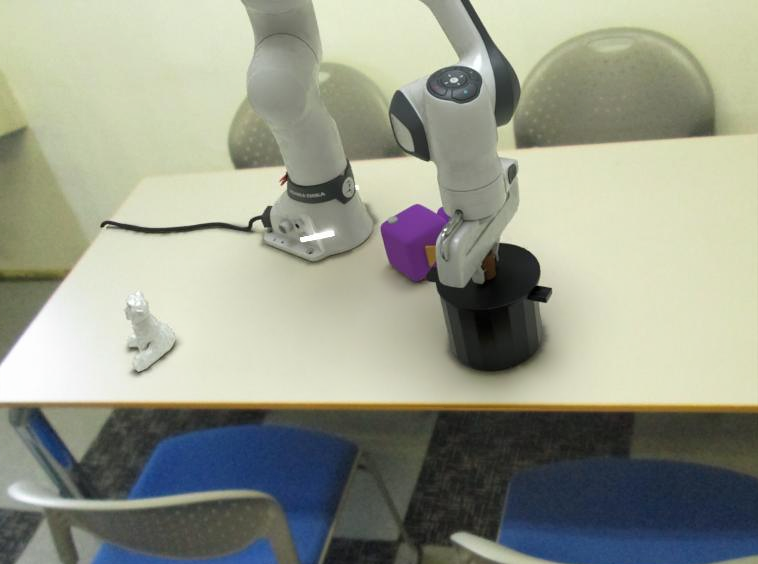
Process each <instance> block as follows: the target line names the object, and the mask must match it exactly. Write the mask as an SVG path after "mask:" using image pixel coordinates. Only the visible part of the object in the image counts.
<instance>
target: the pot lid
mask: <svg viewBox="0 0 758 564" xmlns="http://www.w3.org/2000/svg"><path fill="white" fill-rule="evenodd" d="M498 259H499V260H498V262H497V263H496V265H495V263H494V256H493V251H492V249H491V250H490V251H489V252H488V254H487V255H486V257H485V258H484V260H483V261H482V265H481V266H480V267H481V268H484V269H486V271H487V278H486V279H485V281H484V283H483V284H479V283H475V282H473V280H472V277H471V279H470V280H469V281H468V283H467V284H466V286H465V287H464V288H457V287H451V286H447V285H444V284H442V283H441V282H440V280H439V275H438V274H437V277H436V282H435V287H436V291H437V294H438V295H439V298H440V297H441V299H442V300H443V301H444V302H446V303H447V304H448V305H450V306H452V307H454V308H457V309H459V310H463V311H468V312H491V311H497V310H501V309H504V308H507V307H510V306H512V305H515V304H516V303H518V302H520V301H522V300H523V299H525V298H526V297H527V296H528V295H530V294H531V293H532V292H533V291H534V289H535V288H536V286H537V285H539V283H540V279H541V276H542V275H541V274H542V271H541V265H540V262H539V260H538V258H537V257H536V256H535V254H533V253H532V252H531V250H529V249H527V248H525V247H522V246H520V245H517V244H512V243H507V242H499V248H498Z"/></svg>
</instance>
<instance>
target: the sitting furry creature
mask: <svg viewBox="0 0 758 564" xmlns="http://www.w3.org/2000/svg"><path fill="white" fill-rule="evenodd" d="M125 302H126V307H124V309H123V311H124V314H125V319H126V320H127V321H130V322H131V325H132V326H131V328H132V331H133V333H132V334H130V335H128V336H127V339H126V343H127V346H128V347H129V348H138V353H137V354H136V355H135V356H134V359H133V360H132V361H131V365H132V368H133V369H134V370H135V371H137V372H138V373H140V372H142V371H145V370H146V369H149V367H150V366H151V365H153V364H154V363H155V362H157V361H158V360H159V359H160V358H162V357H163V356H164V355H165V354H167V353H168V352H170V351H171V350H172V348H173V347H174V344H175V342H176V340H175V339H176V333H175V331H174V330H173V328H172V327H171V325H169V323H164V322H162V321H161V320H158V319H157V317H156V316H155V315H154V314H153V313H151V312H150V305H149V301H148V300H147V299H146V298H145V295H144V293H143V291H141V290H139V289H138V290H137V291H136V292H135V294H130V295H128V296H127V298H126V299H125Z"/></svg>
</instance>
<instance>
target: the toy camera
mask: <svg viewBox="0 0 758 564" xmlns="http://www.w3.org/2000/svg"><path fill="white" fill-rule="evenodd" d="M450 218H451V217H450V216H448V215H447V214H446V213H445V212H444V210H443V206H440V207H439V208H438V209H437V212H435V211H433V210H431V209H430V208H428V207H426V206H425V205H423V204H420V203H415V204H413V205H411V206H409V207H407V208H405V209H403V210H402V211H400V212H398V213H397V214H395V215H392V216H389V217H388V218H387V219H386V220H385V221H384V222H382V223H381V224H380V227H379V228H380V234H381V239H382V243H383V246H384V250H385V254H386V257H387V260H388V263H389V264H390V265H391V266H392V267H393V268H395V269H396V270H397V271H399V272H400V273H402V274H403V275H404V276H406V277H407V278H409V279H411V280H412V281H414V282H420V281H422V280H423V279H426V275H427V273H428V272H429V271H430V269H431V268H432V267H437V261H436V242H437V239H438V236H439V235H440V233H441V232H442V229H443V227H444V226H445V225H446V224H447V223H448V222H449V220H450Z"/></svg>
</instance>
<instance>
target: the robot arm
mask: <svg viewBox="0 0 758 564" xmlns="http://www.w3.org/2000/svg"><path fill="white" fill-rule="evenodd" d="M418 1H419V2H421V3H422V4H424V5H425V6H426V7H427V8H428V9H429V10H430V11H431V13H432V15H433V17H434V18H435V20H436V21H437V23H438V25H439V26H440V28H441V30H442V31H443V33H444V35H445V36H446V38H447V40H448V42H449V43H450V45H451V46H452V48H453V50H454V52H455V53H456V56H457V57H458V60H459V61H457V62H456V63H454V64H451V65H449V66H445V67H442V68H439V69H438V70H436V71H434V72H433V73H431V74H426V75H424V76H422V77H420V78H418V79H415V80H413V81H411V82H408V83H406V84H405V85H403V86H401V87H400V88H398V89H396V90H395V92H394V94H393V95H392V97H391V100H390V104H389V108H388V118H389V123H390V127H391V130H392V134H393V137H394V140H395V142H396V144H397V146H398V147H399V149H401V151H403V153H406V154H408V155H410V156H412V157H415V158H416V159H419V160H421V161H423V162H427V163H429V162H432V163H433V164H434V165H435V166H436V167H435V168H436V180H437V185H438V191H439V196H440V201H441V205H442V206H441V207H443V210H444V212H445V213H446V214H447V215H448V216H450V217H451V218H450V220H449V222H448V223H447V224H446V225H445V226H444V227H443V229H442V232H441V233H440V235H439V236H438V239H437V242H436V261H437V269H438V275H439V280H440V282H441V283H442V284H444V285H447V286H451V287H457V288H464V287H465V286H466V284H467V283H468V281H469V280H470V279H471V277H472V280H473V282H475V283H479V284H483V283H484V281H485V279H486V278H487V271H486V269H484V268H481V267H480V266H481V265H482V261H483V260H484V258H485V257H486V255H487V254H488V252H489V251H490V250H491V249H492V251H493V256H494V263H495V265H496V263H497V262H498V260H499V259H498V248H499V243H501V235H502V234H503V233H504V231H505V229H506V228H507V226H508V225H509V224H510V222H511V221H512V219H513V218H514V217H515V215H516V214H517V212H518V210H519V206H520V201H521V200H520V197H521V196H520V185H519V178H518V174H519V169H520V168H519V161H518V160H517V159H515V158H509V157H503V156H499V154H498V144H499V133H498V128H500V127H503V126H506V125H508V124H509V123H510V122H511V120H512V119H513V117H514V115H515V113H516V111H517V108H518V105H519V102H520V98H521V94H522V89H521V84H520V79H519V77H518V75H517V73H516V70H515V69H514V67H513V65H512V64H511V62H510V61H509V60H508V58H507V57H506V56H505V55H504V53H503V52H502V51H501V50H500V48H499V47H498V46H497V44H496V43H495V42H494V40H493V38H492V36H491V35H490V33H489V31H488V30H487V28H486V27H485V24H484V23H483V21H482V19H481V18H480V16H479V14H478V12H477V11H476V9H475V8H474V6H473V4H472V3H471V0H418ZM240 2H241V4H242V5H243V6H244V8H245V11H246V14H247V16H248V19H249V22H250V25H251V28H252V32H253V39H254V45H253V46H254V49H253V55H252V58H251V60H250V62H249V65H248V68H247V71H246V80H245V81H246V82H245V83H246V85H245V86H246V97H247V100H248V104H249V106H250V107H251V109H252V111H253V112H254V113H255V115H256V116H258V117H259V118H260V119H261V120H263V121H264V122H265V124H266V125H267V128H268V129H269V130H270V132H271V134H272V136H273V137H274V140H275V141H276V144H277V147H278V149H279V152H280V155H281V157H282V161H283V163H284V167H285V169H286V171H285V174H284V175H283V176H282V177H281V178H280V179H279V181H278V182H279V183H280V187H282V186H283V185H284V184H285V183H286V189H285V191H283V193H282V194H281V195H280V196H279V197H278V198H277V200H276V201H275V202H274V203H273V204H272V205H267V206H266V207H265V209H264V211H263V213H262V214H260V215H256V216H253V217H251V218H250V219H249V220H248V225H247V226H237V225H234V224H231V223H227V222H220V221H216V222H215V221H214V222H213V221H212V222H204V223H203V222H202V223H198V224H190V225H181V226H170V227H169V226H168V227H146V226H139V225H134V224H129V223H123V222H122V223H121V222H117V221H114V220H104V221H102V222H101V223H100V226H99V228H100V229H102V228H104V227H105V226H107V225H109V226H110V225H111V226H115V227H118V228H125V229H131V230H136V231H139V232H148V233H149V232H150V233H165V232H179V231H189V230H190V231H191V230H197V229H203V228H204V229H205V228H210V227H222V228H228V229H231V230H234V231H239V232H249V231H251V230H252V228H253V224H254V223H255V222H256V221H261V223H262V227H263V228H265V229H266V230H265V233H264V236H263V240H264V243H265V244H266V245H268V246H271V247H274V248H275V249H276V248H277V249H279V250H282V251H284V252H287V253H289V254H292V255H294V256H297V257H299V258H302V259H304V260H307V261H310V262H318V261H321V260H323V259H325V258H327V257H329V256H333V255H337V254H342V253H345V252H347V251H351V250H353V249H354V248H356V247H358V246H360V245H361V244H362V243H363V242H365V241H366V240H367V239H368V238H369V237H370V236H371V234H372V232H373V230H374V221H373V218H372V217H371V216H370V214H369V212H368V211H367V207H366V205H365V202H363V200H362V198H361V196H360V193H359V191H358V190H359V189H360V187H359V185H356V181H355V175H354V172H353V169H352V164H351V163H350V162H351V161H350V160H349V158H347V156H346V153H345V149H344V146H343V142H342V138H341V135H340V131H339V128H338V125H337V121H335V118H333V117H332V116H331V115H330V112H329V110H328V109H327V107H326V104H325V103H324V100H323V98H322V95H321V91H320V83H319V82H320V81H319V75H320V70H321V66H322V62H323V58H324V57H323V53H324V52H323V44H322V39H321V35H320V29H319V25H318V20H317V15H316V11H315V7H314V3H313V0H240Z"/></svg>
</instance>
